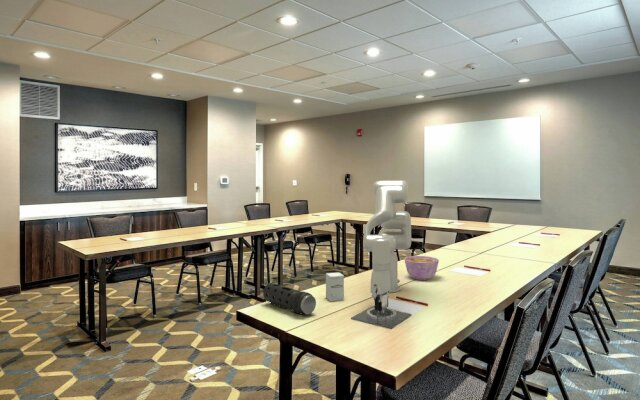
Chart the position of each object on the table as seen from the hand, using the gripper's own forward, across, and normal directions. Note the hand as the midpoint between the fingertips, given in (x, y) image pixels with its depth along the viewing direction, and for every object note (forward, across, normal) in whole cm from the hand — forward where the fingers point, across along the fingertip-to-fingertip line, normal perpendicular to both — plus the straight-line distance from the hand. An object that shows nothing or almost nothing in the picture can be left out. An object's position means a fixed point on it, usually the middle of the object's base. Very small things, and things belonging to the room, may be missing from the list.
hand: (381, 308), depth 167 cm
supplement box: (+4, -9, -31) cm, 32 cm away
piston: (+2, 0, 0) cm, 2 cm away
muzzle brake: (+4, +16, -39) cm, 42 cm away
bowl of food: (+4, -71, -12) cm, 72 cm away
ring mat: (+4, 0, 0) cm, 4 cm away
